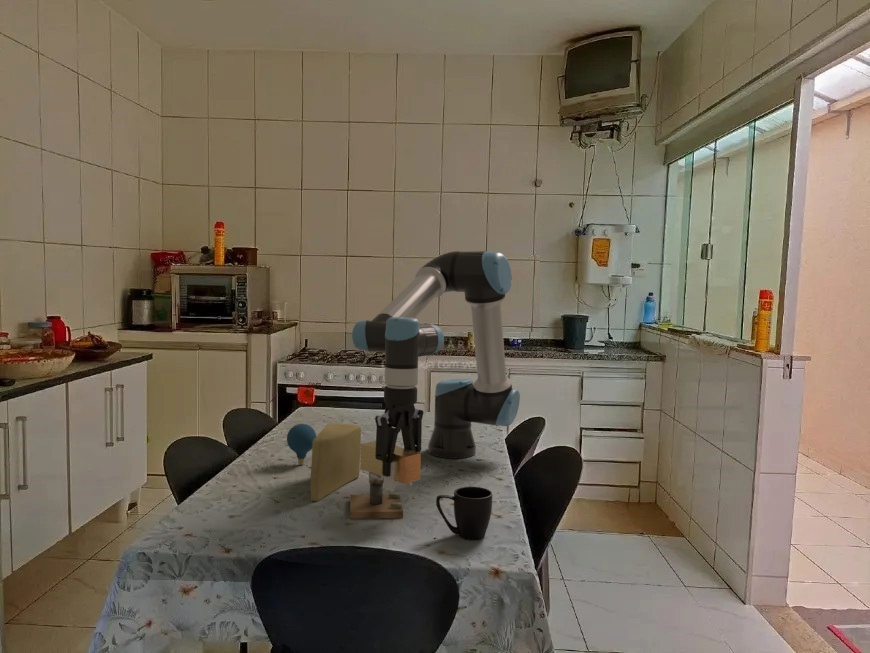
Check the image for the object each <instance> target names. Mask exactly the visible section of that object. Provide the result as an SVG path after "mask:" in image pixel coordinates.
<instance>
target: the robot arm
mask: <svg viewBox="0 0 870 653" xmlns="http://www.w3.org/2000/svg"><path fill="white" fill-rule="evenodd" d="M512 275H513V274H512V269H511V266H510V262H509V260H508V258H507V257H506V256H505V255H504V254H503V253H501V252H499V251H498V252H497V251H488V250H487V251H482V250H481V251H479V250H478V251H449V252H445V253H443V254H441V255H439V256H436V257H434V258H433V259H432V260H430V261H428V262H427V263H425V264H424V265H423V266H422V267H420V269H418V270H417V272H416V274H415V276H414V279H413V280H412V281H411V282H410V283H409V284H408V285H407V286H406V287H404V289H403V290H402V291H401V292H400V293H399V294H397V295H396V296H395V297H394V299H393V300H391V302H390V303H388V304H387V305H386V306H385V307H384V308H383V309H382V310H381V311H380V312H379V313H377V315H376V316H375V317H374V318H372V320H369V319H365V320H359V321H357V322H356V323H355V325H353V328H352V332H351V339H352V343H353V346H354V347H355V349H357V350H360V351H366V352H369V353H372V352H373V353H374V352H375V353H384V379H383V381H384V382H383V383H384V384H385V386H384V387H383V402H384V403H385V409H384V413H383V414H382V415H376V416H375V417H374V421H375V426H376V432H375V433H376V436H375V441H376V454H375V458H376V459H378V460H381V461H382V462H383V466H382V474H383V476H384V483H383V490H387V491H389V492H394V491H395V482H396V481H395V462H393V461H392V460H393V455H394V450H395V446H397V440H398V437H399V436H398V435H399V433H400V432H401V437H402V443H403V448H405V449H408V450H411V451H415V452H418V453H421V451H422V434H423V433H422V429H423V428H422V426H423V425H422V424H423V423H422V420H423V417H424V410H423V409H418V408H416V407H415V405H416V404H417V403H418V388H417V385H418V381H419V380H418V378H419V358H420V357H426V356H428V357H429V356H430V357H431V356H432V355H434V354H436V353H439V351H441V350H442V348H443V346H444V342H445V334H444V332H443V330H442V329H441V328H440V327H439V326H438V325H437V324H434V323H427V322H426V323H420V322H419V319H418V316H419V314H420V313H422V311H424V309H425V308H426V307H427V306H429V304H430V303H431V302H432V301H433V299H436V298H439V297H441V296H442V295H443V294H444V293H445V294H446V293H449V292H457V293H458V292H459V293H464V300H465V302H466V303H468V305H470V306H471V307H470V308H471V310H470V311H471V318H472V330H473V342H474V352H475V361H476V362H475V363H476V373H477V379H476V380H475V381H474V382H473V379H471V378H456V379H447V380H442V381H439V382H437V384H436V386H435V393H434V394H435V395H434V424H433V425H434V426H433V430H432V433H431V436H430V438H429V440H428V441H429V442H428V443H427V444H428V445H427V452H428V453H429V454H430V455H432V456H435V457H439V458H445V459H448V458H449V459H465V458H469V457H473V456H475V455H476V453H477V448H476V446H477V445H476V442H475V438H474V435H473V432H472V423H476V424H481V425H489V426H495V427H510V426H511V425H512V424H513V423H514V421H515V419H516V417H517V414H518V411H519V406H520V400H521V398H520V397H521V396H520V395H521V393H520V391H519V389H517V388H515V387H514V388H513V383H512V380H511V378H509V377H507V372H506V371H507V370H506V359H505V358H506V356H505V355H506V354H505V343H504V342H505V341H504V330H503V329H504V328H503V318H502V315H503V314H502V304H501V303H502V302H503V301H504V300H505V299H506V294H508V292H509V291H510V290H511V288H512V279H513V278H512ZM416 317H417V318H416ZM387 455H388V456H387ZM405 485H406V486H413V482H409V483H406V484H405Z"/></svg>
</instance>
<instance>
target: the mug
mask: <svg viewBox="0 0 870 653" xmlns="http://www.w3.org/2000/svg"><path fill="white" fill-rule="evenodd" d="M435 498H436V499H435V501H436V502H435V505H436V507H437V508H436V509H437V510H438V512H439V514H440V515H441V518H442V519H443V520H444V521H443V522H445V524H446V525H447V527H448V528H449V530H450V531H451V532H452V533H453V534H454V535H458V536H459V538H461V539H463V540H466V541H473V542H474V541H480V540H484V538H485V536H486V533H487V529H488V528H489V524H490V520H491V515H492V512H493V510H492V509H493V492H492V491H491V490H490V489H488V488H484V487H481V486H462V487H458V488H456V489H454V491H453V496H452V495H446V494H440V495H437V496H436V497H435ZM441 499H449V500H451V501H453V513H454V519H455V524H456V526H454V525H453V524H451V523H450V521H449V520H448V519H447V517H446V515H445V513H444V511H443V509H442V507H441V503H440V500H441Z"/></svg>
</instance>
